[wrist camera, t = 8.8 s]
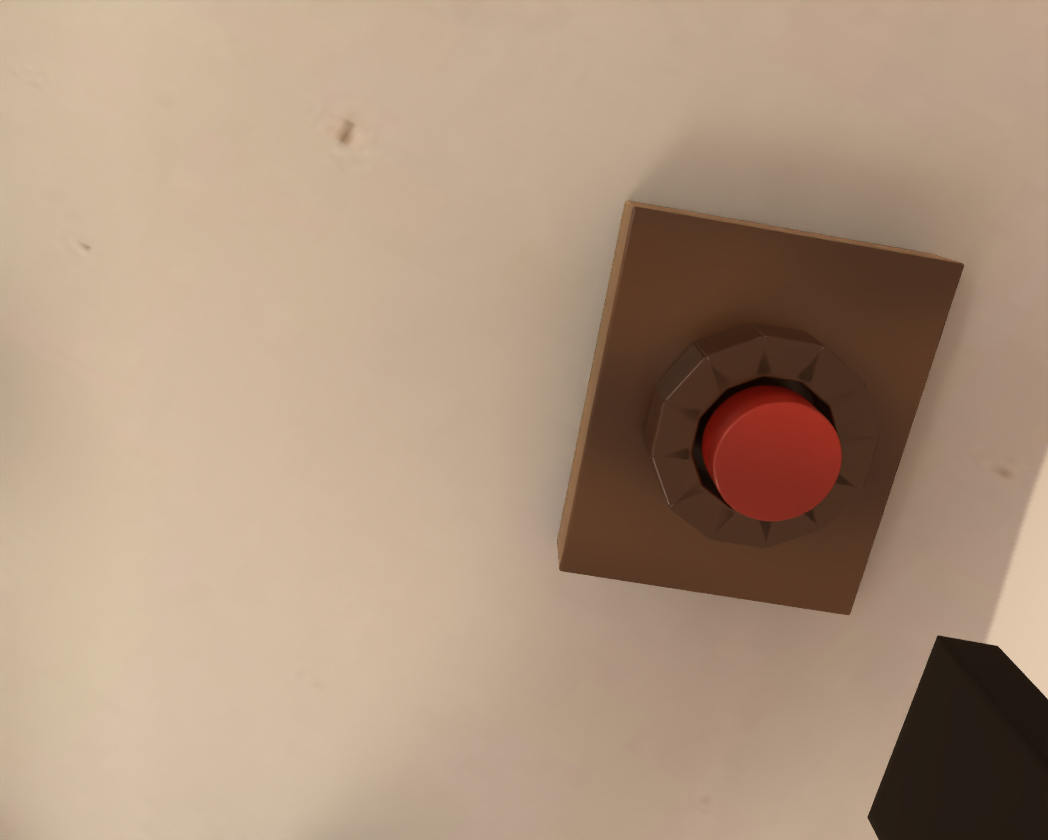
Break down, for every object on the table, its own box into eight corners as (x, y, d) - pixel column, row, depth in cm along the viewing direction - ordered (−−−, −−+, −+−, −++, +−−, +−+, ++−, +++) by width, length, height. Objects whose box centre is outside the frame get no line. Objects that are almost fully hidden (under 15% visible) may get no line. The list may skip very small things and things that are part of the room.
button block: (624, 200, 27) (641, 210, 23) (933, 253, 28) (997, 273, 24) (556, 542, 31) (560, 599, 27) (828, 584, 31) (870, 646, 28)
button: (717, 374, 25) (730, 391, 23) (837, 395, 25) (859, 413, 24) (689, 487, 26) (700, 511, 25) (804, 506, 26) (822, 531, 25)
